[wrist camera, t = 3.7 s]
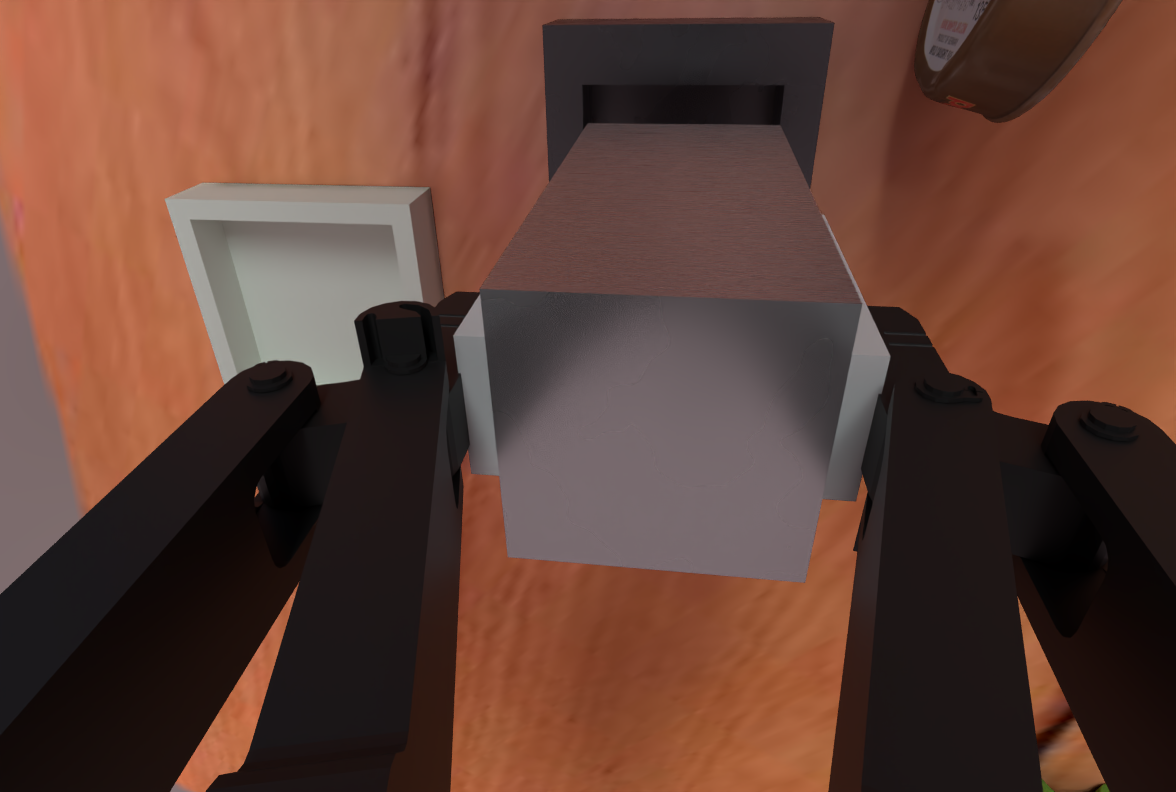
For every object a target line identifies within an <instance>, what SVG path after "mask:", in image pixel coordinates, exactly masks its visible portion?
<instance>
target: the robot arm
mask: <svg viewBox="0 0 1176 792" xmlns="http://www.w3.org/2000/svg"><path fill="white" fill-rule="evenodd" d="M822 217H823V219H824V221H825V223H826V226H827V228H828V230H829V232H830V234H831V236H832V239H833V241H834V243H835V245H836V247H837V250H838V252H839V254H840V256H841V258H842V260H843V263H844V265H845V267H846V269H847V271H848V274H849V276H850V278H851V280H852V282H853V284H854V287H855V289H856V291H857V293H858V295H859V297H860V300H861V302H862V309H861V313H860V318H859V323H858V328H857V333H856V338H855V343H854V347H853V352H852V357H851V362H850V367H849V372H848V377H847V381H846V386H845V391H844V396H843V401H842V406H841V411H840V415H839V420H838V425H837V430H836V435H835V440H834V445H833V449H832V454H831V459H830V464H829V469H828V474H827V478H826V483H825V488H824V493H823V498H822V499H830V500H844V501H856V499H857V495H858V490H859V486H860V482H861V478H862V474H863V477H864V481H865V484H866V487H867V490H868V493H867V497H866V501H865V505H864V509H863V513H862V517H861V521H860V525H859V529H858V533H857V537H856V541H855V545H854V549H853V551H857V560H856V568H855V576H854V584H853V593H852V601H851V609H850V617H849V626H848V634H847V642H846V650H845V659H844V667H843V675H842V683H841V692H840V700H839V708H838V716H837V725H836V733H835V741H834V749H833V758H832V766H831V774H830V782H829V791H828V792H1043V786H1042V778H1041V771H1040V763H1039V756H1038V748H1037V741H1036V733H1035V726H1034V718H1033V710H1032V703H1031V695H1030V688H1029V680H1028V673H1027V665H1026V658H1025V650H1024V643H1023V635H1022V628H1021V620H1020V613H1019V605H1018V598H1019V600H1020V602H1021V605H1022V607H1023V609H1024V611H1025V613H1026V615H1027V617H1028V619H1029V622H1030V624H1031V626H1032V628H1033V630H1034V632H1035V634H1036V636H1037V639H1038V641H1039V643H1040V645H1041V647H1042V649H1043V651H1044V653H1045V656H1046V658H1047V660H1048V662H1049V664H1050V666H1051V668H1052V670H1053V672H1054V675H1055V677H1056V679H1057V681H1058V683H1059V685H1060V687H1061V689H1062V692H1063V694H1064V696H1065V698H1066V700H1067V702H1068V704H1069V706H1070V709H1071V711H1072V713H1073V715H1074V717H1075V719H1076V721H1077V723H1078V726H1079V728H1080V730H1081V732H1082V734H1083V736H1084V738H1085V740H1086V743H1087V745H1088V747H1089V749H1090V751H1091V753H1092V755H1093V757H1094V759H1095V762H1096V764H1097V766H1098V768H1099V770H1100V772H1101V774H1102V776H1103V779H1104V781H1105V783H1106V785H1107V787H1108V789H1109V791H1110V792H1176V444H1175V443H1174V442H1173V441H1172V440H1171V439H1170V438H1169V437H1168V436H1167V435H1166V434H1165V432H1164V431H1163V430H1162V429H1160V428H1159V427H1158V426H1156V425H1155V424H1154V423H1153V422H1151V421H1150V420H1149V419H1147V418H1145V417H1143V416H1141V415H1139V414H1137V413H1134V412H1133V411H1132V410H1130V409H1128V408H1125V407H1122V406H1120V405H1119V407H1118V406H1116V404H1112V403H1108V402H1102V403H1100V402H1094V401H1070V402H1067V403H1064V404H1062V405H1059V406H1058V407H1057V409H1056V410H1055V412H1054V413H1053V416H1052V418H1051V421H1050V423H1049V425H1046V424H1042V423H1037V422H1033V421H1028V420H1024V419H1019V418H1014V417H1011V416H1007V415H1003V414H1000V413H997V412H994V411H993V410H992V402H991V399H990V397H989V395H988V393H987V391H986V390H984V389H983V388H982V387H980V386H979V385H978V384H976V383H975V382H973V381H971V380H968V379H966V378H964V377H962V376H959V375H955V374H951V373H949V372H948V370H947V368H946V367H945V365H944V363H943V362H942V360H941V358H940V356H939V355H938V353H937V351H936V350H935V348H934V347H932V343H931V341H930V339H929V338H928V336H926V333H925V331H924V329H923V327H922V326H921V324H920V322H919V321H918V319H916V318H915V317H913V316H912V315H910V314H909V313H907V312H906V311H904V310H903V309H901V308H900V307H880V306H867V305H866V303H865V301H864V299H863V296H862V294H861V292H860V290H859V288H858V286H857V284H856V282H855V279H854V277H853V275H852V273H851V271H850V269H849V267H848V264H847V262H846V260H845V258H844V256H843V254H842V252H841V249H840V247H839V245H838V243H837V241H836V239H835V237H834V234H833V232H832V230H831V228H830V226H829V224H828V222H827V219H826V217H825V215H822ZM354 324H355V329H356V333H357V338H358V343H359V347H360V352H361V357H362V361H363V366H364V367H363V371H362V374H361V378H360V379H359V380H353V381H347V382H340V383H331V384H323V385H316V382H315V378H314V374H313V371H312V368H311V367H310V366H308V365H306V364H304V363H303V362H297V361H290V360H287V361H278V360H273V361H267V363H265V362H262V363H259V364H256V365H255V366H253V367H251V368H248V369H246V370H243V371H241V372H240V373H238V374H237V375H236V376H234V377H233V378H231V379H230V380H229V381H228V382H227V383H226V384H225V385H224V386H223V387H221V388H220V389H219V390H218V391H217V392H216V393H215V394H214V395H213V396H212V397H211V398H210V399H209V400H208V401H207V402H205V403H204V404H203V405H202V406H201V407H200V408H199V409H198V410H197V411H196V412H195V413H194V414H193V415H192V416H190V417H189V418H188V419H187V420H186V421H185V422H184V423H183V424H182V425H181V426H180V427H179V428H178V429H177V430H176V431H174V432H173V433H172V434H171V435H170V436H169V437H168V438H167V439H166V440H165V441H164V442H163V443H162V444H161V445H159V446H158V447H157V448H156V449H155V450H154V451H153V452H152V453H151V454H150V455H149V456H148V457H147V458H146V459H145V460H143V461H142V462H141V463H140V464H139V465H138V466H137V467H136V468H135V469H134V470H133V471H132V472H131V473H130V474H128V475H127V476H126V477H125V478H124V479H123V480H122V481H121V482H120V483H119V484H118V485H117V486H116V487H115V488H114V489H112V490H111V491H110V492H109V493H108V494H107V495H106V496H105V497H104V498H103V499H102V500H101V501H100V502H99V503H98V504H96V505H95V506H94V507H93V508H92V509H91V510H90V511H89V512H88V513H87V514H86V515H85V516H84V517H83V518H81V519H80V520H79V521H78V522H77V523H76V524H75V525H74V526H73V527H72V528H71V529H70V530H69V531H68V532H67V533H65V535H63V536H62V537H61V538H60V539H59V540H58V541H57V542H56V543H55V544H54V545H53V546H52V547H50V548H49V550H47V551H46V552H45V553H44V554H43V555H42V556H41V557H40V558H39V559H38V560H37V561H36V562H34V563H33V564H32V565H31V566H30V567H29V568H28V569H27V570H26V571H25V572H24V573H23V574H22V575H21V576H20V577H18V578H17V579H16V580H15V581H14V582H13V583H12V584H11V585H10V586H9V587H8V588H7V589H6V590H5V591H3V592H2V593H1V594H0V792H170V791H171V789H172V787H173V786H174V784H175V782H176V781H177V779H178V778H179V776H180V774H181V773H182V771H183V769H184V768H185V766H186V765H187V763H188V761H189V760H190V758H191V756H192V755H193V753H194V752H195V750H196V748H197V747H198V745H199V743H200V742H201V740H202V739H203V737H204V735H205V734H206V732H207V731H208V729H209V727H210V726H211V724H212V722H213V721H214V719H215V718H216V716H217V714H218V713H219V711H220V709H221V708H222V706H223V705H224V703H225V701H226V700H227V698H228V696H229V695H230V693H231V692H232V690H233V688H234V687H235V685H236V683H237V682H238V680H239V679H240V677H241V675H242V674H243V672H244V670H245V669H246V667H247V666H248V664H249V662H250V661H251V659H252V657H253V656H254V654H255V653H256V651H257V649H258V648H259V646H260V645H261V643H262V641H263V640H264V638H265V636H266V635H267V633H268V632H269V630H270V628H271V627H272V625H273V623H274V622H275V620H276V619H277V617H278V615H279V614H280V612H281V610H282V609H283V607H284V606H285V604H286V602H287V601H288V599H289V597H290V596H291V594H292V593H293V591H294V589H295V588H296V586H297V584H298V583H299V585H298V589H297V592H296V595H295V599H294V602H293V605H292V609H291V612H290V615H289V619H288V622H287V626H286V629H285V632H284V636H283V639H282V642H281V646H280V649H279V652H278V656H277V659H276V662H275V666H274V669H273V672H272V676H271V679H270V683H269V686H268V689H267V693H266V696H265V699H264V703H263V706H262V709H261V713H260V716H259V719H258V723H257V726H256V729H255V733H254V736H253V740H252V743H251V746H250V750H249V752H248V755H247V757H246V760H245V762H244V764H243V765H242V767H241V768H240V769H239V770H238V771H237V772H233V773H228V774H223V775H219V776H218V777H217V778H216V779H215V781H214V782H213V783H212V784H211V785H210V786H209V788H208V789H207V790H206V792H450V787H451V764H452V741H453V718H454V695H455V671H456V648H457V625H458V602H459V579H460V556H461V533H462V510H463V487H464V486H463V479H462V472H461V463H462V461H463V459H464V457H465V454H466V452H467V450H468V451H469V458H470V466H471V474H483V475H497V476H499V468H498V459H497V449H496V440H495V430H494V421H493V412H492V402H491V393H490V383H489V374H488V364H487V355H486V345H485V336H484V326H483V317H482V307H481V298H480V293H479V292H455V293H453V294H452V295H450V296H448V297H446V298H445V299H443V300H441V301H440V302H439V303H438V304H437V305H436V307H433V306H432V305H430V304H427V303H423V302H418V301H397V302H390V303H384V304H381V305H378V306H374V307H371V308H369V309H367V310H366V311H364V312H362V313H360V314H359V315H358V317H357V318H356V319H355V320H354ZM256 487H258V490H259V493H258V494H257V495H256V497H255V492H256ZM254 497H255V498H254ZM299 581H300V582H299ZM1017 596H1018V598H1017Z"/></svg>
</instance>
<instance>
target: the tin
mask: <svg viewBox="0 0 1176 792" xmlns="http://www.w3.org/2000/svg"><path fill="white" fill-rule="evenodd" d="M1121 1H1122V0H929V2H928V5H927V8H926V11H925V14H924V17H923V21H922V25H921V28H920V32H919V36H918V41H917V46H916V53H915V61H914V69H915V75H916V78H917V81H918V83H919V85H920V87H921V90H922V92H923V93H924V95H925V96H926V97H928V98H929V99H931V100H934V101H937V102H940V103H943V104H946V105H950V106H954V107H958V108H962V109H966V110H969V111H973V112H976V113H979V114H982V115H983V116H984V117H985V118H986V119H987V120H989V121H991V122H995V123H1001V122H1007V121H1010V120H1013V119H1015V118H1016V117H1019V116H1020V115H1022V114H1023V113H1025V112H1026V111H1028V110H1030V109H1031V108H1032V107H1034V106H1035V105H1036V104H1037V103H1038V102H1040V101H1041V100H1042V99H1044V98H1045V97H1046V96H1047V95H1048V94H1049V93H1050V92H1051V91H1052V90H1053V89H1054V88H1055V87H1056V86H1057V85H1058V83H1059V82H1060V81H1061V80H1062V79H1063V78H1064V77H1065V76H1066V75H1067V73H1068V72H1069V71H1070V70H1071V69H1072V68H1073V67H1074V65H1075V64H1076V63H1077V62H1078V61H1079V59H1080V58H1081V57H1082V56H1083V55H1084V53H1085V52H1086V51H1087V49H1088V48H1089V47H1090V46H1091V44H1092V43H1093V42H1094V40H1095V39H1096V37H1097V36H1098V35H1099V34H1100V32H1101V31H1102V29H1103V28H1104V27H1105V26H1106V24H1107V22H1108V21H1109V19H1110V18H1111V16H1112V15H1113V14H1114V13H1115V11H1116V9H1117V7H1118V6H1119V4H1120V3H1121Z"/></svg>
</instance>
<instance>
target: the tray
mask: <svg viewBox="0 0 1176 792" xmlns="http://www.w3.org/2000/svg"><path fill="white" fill-rule="evenodd" d="M165 201H166V204H167V207H168V210H169V213H170V217H171V220H172V223H173V226H174V229H175V232H176V235H177V238H178V241H179V245H180V248H181V251H182V254H183V257H184V260H185V263H186V266H187V269H188V273H189V276H190V279H191V282H192V285H193V288H194V291H195V294H196V297H197V301H198V304H199V307H200V310H201V313H202V316H203V319H204V322H205V326H206V329H207V332H208V335H209V338H210V341H211V344H212V347H213V350H214V354H215V357H216V360H217V363H218V366H219V369H220V372H221V375H222V378H223V382H224V385H225V384H226V383H227V382H228V381H229V380H230V379H231V378H233V377H234V376H236V375H237V374H238V373H240V372H241V371H243V370H246V369H248V368H251V367H253V366H255V365H256V364H259V363H262V362H265V363H267V361H273V360H278V361H287V360H290V361H297V362H303V363H304V364H306V365H308V366H310V367H311V368H312V371H313V374H314V378H315V382H316V385H323V384H331V383H340V382H347V381H353V380H359V379H360V378H361V374H362V371H363V367H364V366H363V361H362V357H361V352H360V347H359V343H358V338H357V333H356V329H355V324H354V320H355V319H356V318H357V317H358V315H359V314H360V313H362V312H364V311H366V310H367V309H369V308H371V307H374V306H378V305H381V304H384V303H390V302H397V301H418V302H423V303H427V304H430V305H432V306H433V307H436V305H437V304H438V303H439V302H440V301H441V300H443V299H444V292H443V284H442V276H441V269H440V261H439V253H438V245H437V237H436V229H435V222H434V214H433V206H432V198H431V190H430V187H391V186H341V185H292V184H242V183H201V184H198V185H196V186H194V187H191V188H189V189H187V190H184V191H182V192H180V193H177V194H175V195H173V196H170V197H168V198H166V199H165Z"/></svg>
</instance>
